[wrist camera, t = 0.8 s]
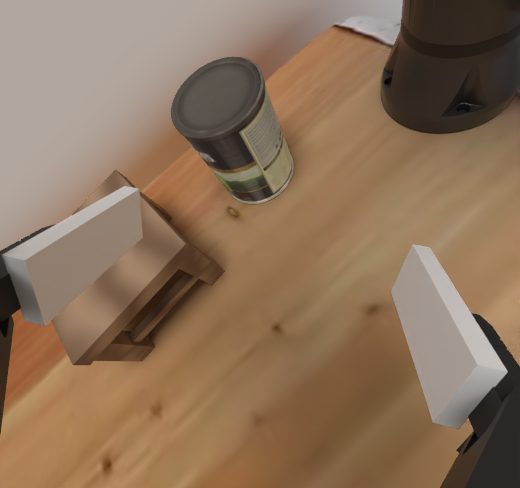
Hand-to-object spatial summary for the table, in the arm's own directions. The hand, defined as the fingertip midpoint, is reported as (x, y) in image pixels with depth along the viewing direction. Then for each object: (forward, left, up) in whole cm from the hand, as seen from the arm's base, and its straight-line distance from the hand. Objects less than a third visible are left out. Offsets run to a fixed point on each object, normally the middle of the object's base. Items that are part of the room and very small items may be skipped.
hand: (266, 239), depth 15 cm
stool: (+13, -20, -21) cm, 32 cm away
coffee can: (-8, -19, -21) cm, 30 cm away
